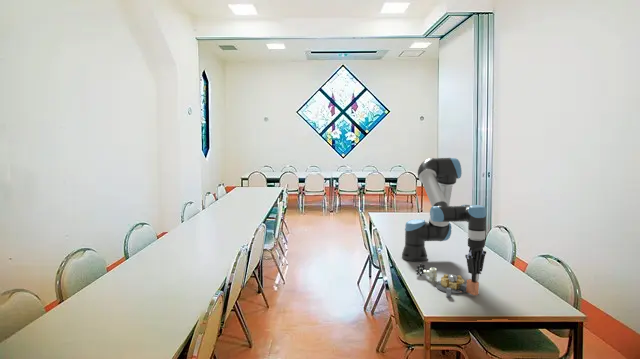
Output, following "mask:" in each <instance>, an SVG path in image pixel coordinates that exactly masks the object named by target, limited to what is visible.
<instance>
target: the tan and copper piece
mask: <svg viewBox="0 0 640 359" xmlns="http://www.w3.org/2000/svg"><path fill="white" fill-rule="evenodd" d="M448 275H449V274H447V273H444V274H443V276H441V277H440V281H441V285H442V286H443V287H445V288H452V289H461V290H463V291H466V293H468V294H470V295H472V296H478V295H479V289H480V288H479V287H480V286H479V285H480V281H478V282H477V281H472V278H469V279H466V281H465V279H464V278H462V275H459V274H458V275H457V282H449V279H448ZM465 282H466V284H467V285H465Z"/></svg>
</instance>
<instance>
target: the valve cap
mask: <svg viewBox="0 0 640 359" xmlns="http://www.w3.org/2000/svg"><path fill="white" fill-rule="evenodd" d="M447 275H448V279H449V282H457V276H458V275H456V274H447ZM465 285H467V282H466V283H465ZM435 288H436V289H437V290H438V291H440V292H443V293H446V290H447V288H445V287H443V286H442V285H441V280H439V281H436V282H435ZM465 293H467V292H466V291H463V290H461V289H451V295H453V294H455V295H461V294H465Z"/></svg>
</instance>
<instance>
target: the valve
mask: <svg viewBox="0 0 640 359" xmlns="http://www.w3.org/2000/svg"><path fill="white" fill-rule="evenodd" d="M425 267H426V265H425V264H422V263H419V265H416V268H417V269H415V272H416V276H420V277H422V275H424V274H426V277H428V281H429V282H431V283H437V277H438V273H437V271H438V269H437V268H436V267H430V268H429V269H428V270H427V268H425Z"/></svg>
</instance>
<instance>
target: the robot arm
mask: <svg viewBox="0 0 640 359" xmlns="http://www.w3.org/2000/svg"><path fill="white" fill-rule="evenodd" d="M462 174H463V172H462V165H461V162H460V161H459V159H457V157H430V158H426V159H425V160H424V161H422V162H421V163H420V165H419V166H418V169H417V177H418V180H419V182H420V183H421V184H422V185H423V188H424V190H425V193H426V195H427V198H428V200H429V202H430V205H431V207H430V210H429V216H430V217H429V219H428V221H426V220H425V219H423V218H420V219H419V218H417V219H416V218H415V219H411V220H407V221H406V222H405V228H404V231H405V232H404V247H403V249H402V253H401V258H402V259H403V260H405V261H408V262H416V263H417V262H424V261H427V260H428V252H427V250H426V249H427V248H426V247H425V245H426V244H425V243H426V242H444V241H448V240H449V239H450V237H451V235H452V224H451V223H452V222H456V223H457V222H460V223H461V222H466V223H468V224H467V226H468V227H467V229H468V230H467V231H468V232H467V246H468V247H469V249H468V254H465V258H466V264H467V271H468V273H469V274H471V279H472V281H477V282H480V281H479V279H480V275H481V274H482V272H483V269H484V262H485V257H486V255H487V251H486V250H484V248H485V246H486V223H487V208H486V206H485V205H480V204H471V205H470V204H462V205H457V206H456V205H453V206H452V205H450V204H451V203H450V202H451V198H452V191H453V185H455V184H456V183H457V180H459V179H461V178H462Z"/></svg>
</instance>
